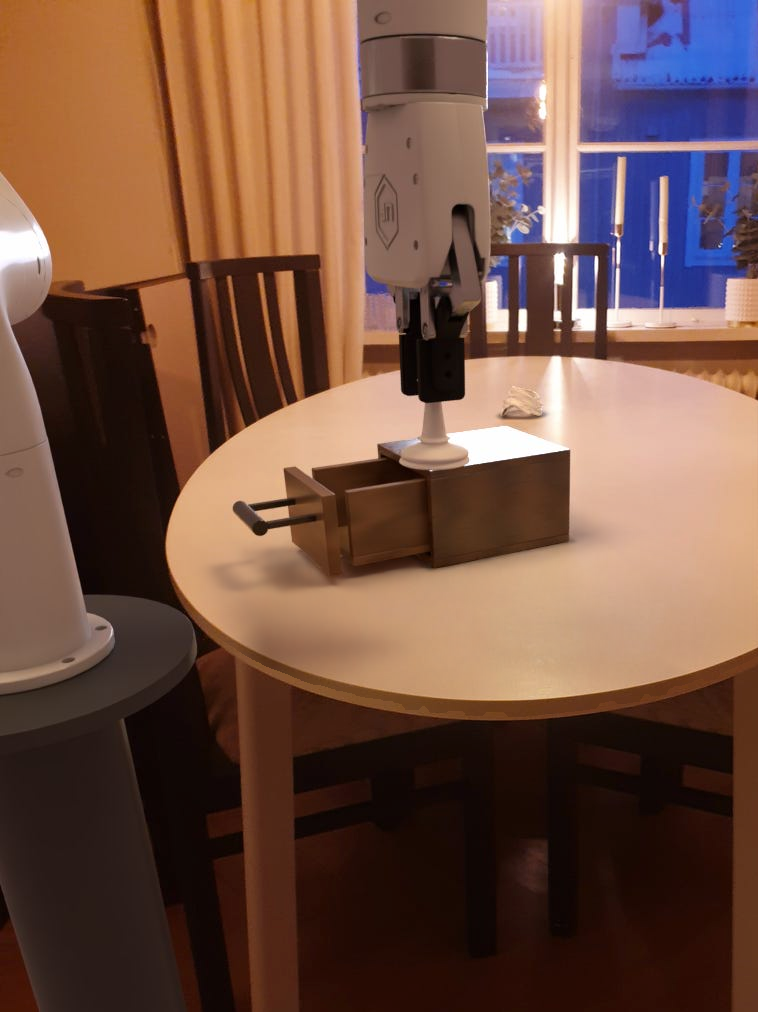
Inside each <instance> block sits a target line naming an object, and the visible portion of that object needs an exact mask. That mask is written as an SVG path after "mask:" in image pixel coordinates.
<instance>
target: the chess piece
mask: <svg viewBox="0 0 758 1012" xmlns="http://www.w3.org/2000/svg"><path fill="white" fill-rule="evenodd" d="M417 381H418V379H417ZM422 420H423V422H422V430H421V435H419V436H417V438H416V439H418V440H419V441H420V442H419V443H415V444H412V445H410V446H407V447H405V448H404V449H402V450H401V452H400V456H401V458H400V460H399V462H400V464H401V465H403V466H405V467H408V468H413V469H420V470H445V469H453V468H458V467H462V466H464V465H466V464H468V463H469V462H470V458H469V457H468V455H469V451H468V449H467V448H465V447H463V446H461V445H458V444H455V443H451V442H449V441H448V440H450V439H451V437H450V436H448V435H447V434H448V433H447V429H446V424H445V417H444V410H443V402H434V403H424V409H423V419H422Z"/></svg>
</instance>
